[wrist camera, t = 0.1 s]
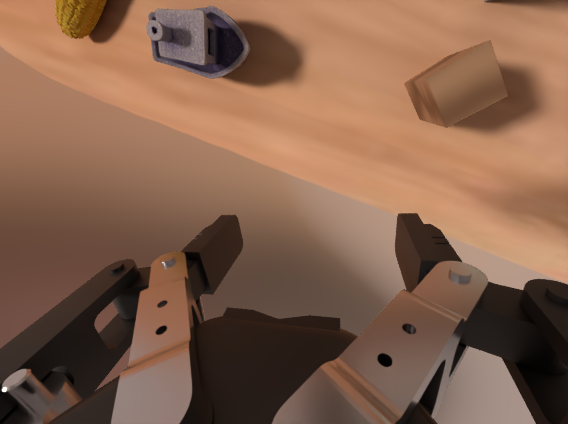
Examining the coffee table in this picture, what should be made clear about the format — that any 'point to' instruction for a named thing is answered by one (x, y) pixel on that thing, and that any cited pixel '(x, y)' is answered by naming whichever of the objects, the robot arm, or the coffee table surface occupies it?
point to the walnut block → (458, 86)
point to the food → (78, 16)
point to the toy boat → (197, 40)
